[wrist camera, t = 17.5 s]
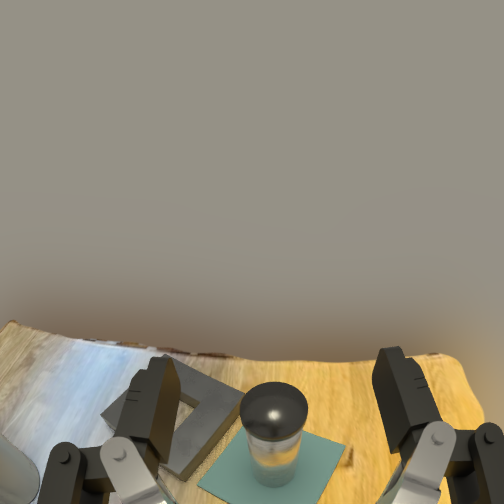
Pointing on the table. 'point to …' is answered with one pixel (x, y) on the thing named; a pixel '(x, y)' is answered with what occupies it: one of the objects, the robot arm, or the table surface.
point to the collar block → (193, 418)
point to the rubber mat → (266, 498)
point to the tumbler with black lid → (274, 430)
